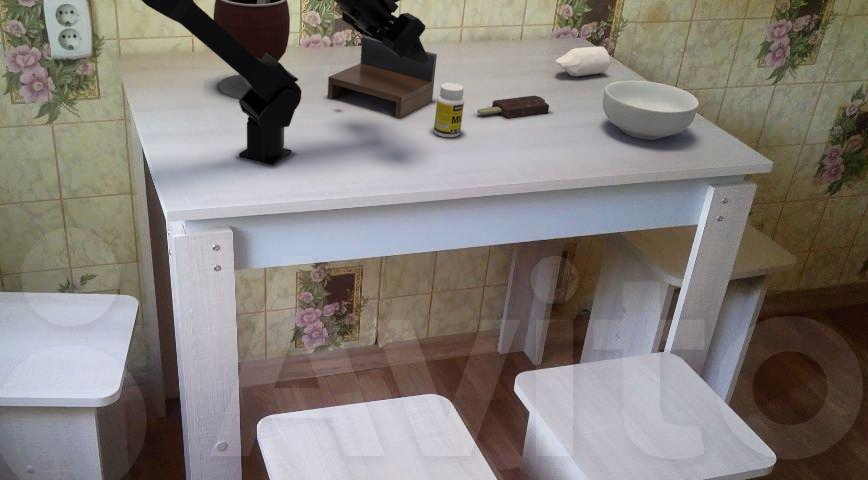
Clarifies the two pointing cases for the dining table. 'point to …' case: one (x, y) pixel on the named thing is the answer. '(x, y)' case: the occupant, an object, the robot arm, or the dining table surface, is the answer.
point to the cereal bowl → (648, 108)
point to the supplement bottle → (449, 110)
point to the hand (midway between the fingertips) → (412, 53)
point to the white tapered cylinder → (585, 61)
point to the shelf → (387, 77)
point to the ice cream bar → (517, 107)
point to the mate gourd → (253, 32)
